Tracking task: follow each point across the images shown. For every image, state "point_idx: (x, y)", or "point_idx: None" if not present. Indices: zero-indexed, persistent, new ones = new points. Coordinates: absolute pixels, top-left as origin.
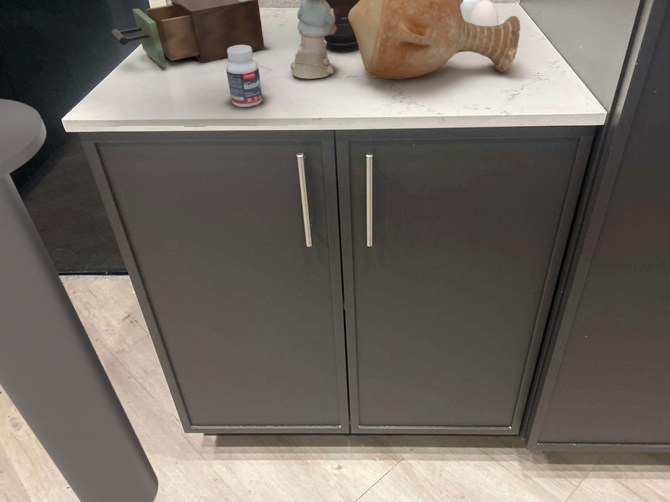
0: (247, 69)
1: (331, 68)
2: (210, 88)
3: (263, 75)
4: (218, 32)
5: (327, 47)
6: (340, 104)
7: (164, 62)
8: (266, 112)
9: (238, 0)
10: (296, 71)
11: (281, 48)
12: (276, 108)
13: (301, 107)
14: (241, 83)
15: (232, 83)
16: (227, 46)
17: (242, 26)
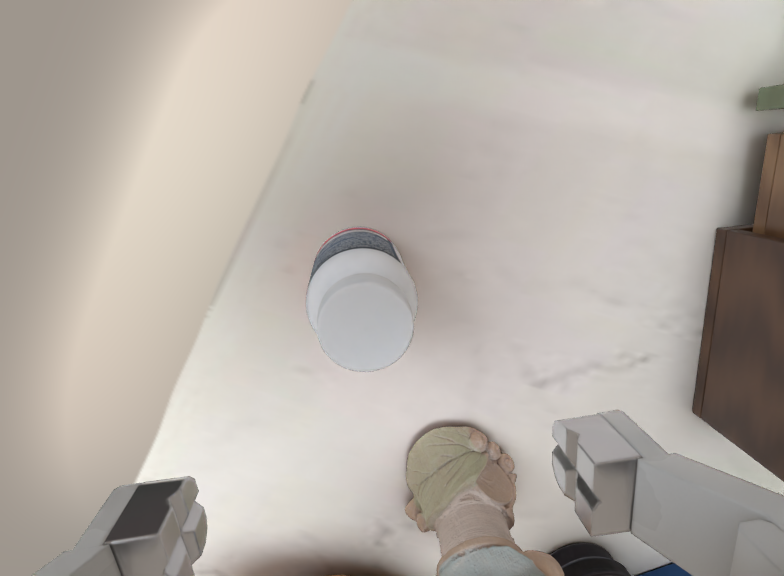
0: (307, 311)
1: (410, 516)
2: (511, 198)
3: (515, 358)
4: (777, 322)
5: (591, 543)
6: (229, 466)
7: (763, 105)
8: (262, 294)
9: (121, 486)
10: (446, 438)
11: (667, 449)
12: (276, 325)
13: (253, 382)
14: (312, 271)
15: (335, 246)
16: (731, 324)
17: (766, 403)
